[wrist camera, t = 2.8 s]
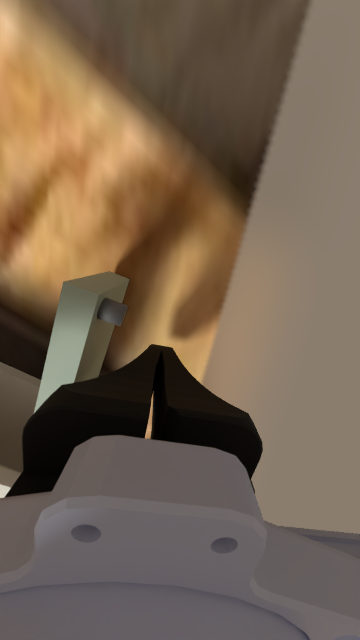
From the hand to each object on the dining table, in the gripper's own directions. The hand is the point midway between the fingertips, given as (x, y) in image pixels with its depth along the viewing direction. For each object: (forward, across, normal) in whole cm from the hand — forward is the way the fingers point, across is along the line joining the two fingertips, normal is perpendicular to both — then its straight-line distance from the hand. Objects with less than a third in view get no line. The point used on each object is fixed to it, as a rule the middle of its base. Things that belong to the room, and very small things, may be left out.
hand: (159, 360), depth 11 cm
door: (+2, +4, 0) cm, 4 cm away
